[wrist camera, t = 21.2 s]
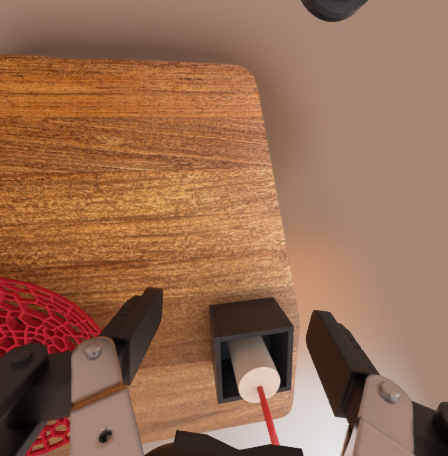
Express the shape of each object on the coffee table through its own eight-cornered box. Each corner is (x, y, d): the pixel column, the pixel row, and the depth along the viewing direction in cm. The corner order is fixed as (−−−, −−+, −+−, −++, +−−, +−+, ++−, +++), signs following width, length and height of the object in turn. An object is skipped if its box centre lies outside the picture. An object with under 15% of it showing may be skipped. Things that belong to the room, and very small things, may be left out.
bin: (273, 297, 39) (293, 326, 31) (272, 351, 41) (291, 390, 34) (209, 305, 37) (214, 337, 30) (212, 361, 40) (217, 404, 32)
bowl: (-114, 254, 28) (-176, 270, 23) (127, 268, 33) (116, 283, 28) (-78, 431, 34) (-122, 472, 29) (121, 418, 39) (111, 452, 35)
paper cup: (257, 316, 38) (304, 412, 23) (258, 344, 39) (303, 452, 24) (224, 321, 37) (250, 424, 22) (226, 349, 39) (252, 465, 23)
